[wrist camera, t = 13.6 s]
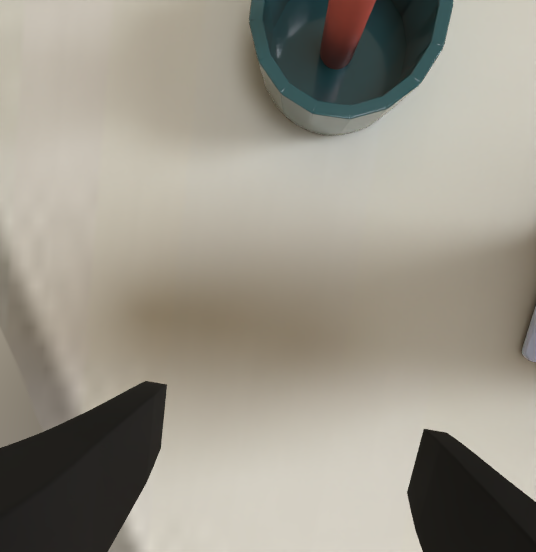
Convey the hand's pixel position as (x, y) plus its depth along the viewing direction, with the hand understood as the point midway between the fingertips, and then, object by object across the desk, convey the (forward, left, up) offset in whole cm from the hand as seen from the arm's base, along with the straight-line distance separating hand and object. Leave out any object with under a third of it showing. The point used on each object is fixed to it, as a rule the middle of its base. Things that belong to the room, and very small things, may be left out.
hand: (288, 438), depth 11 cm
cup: (0, -13, -10) cm, 17 cm away
